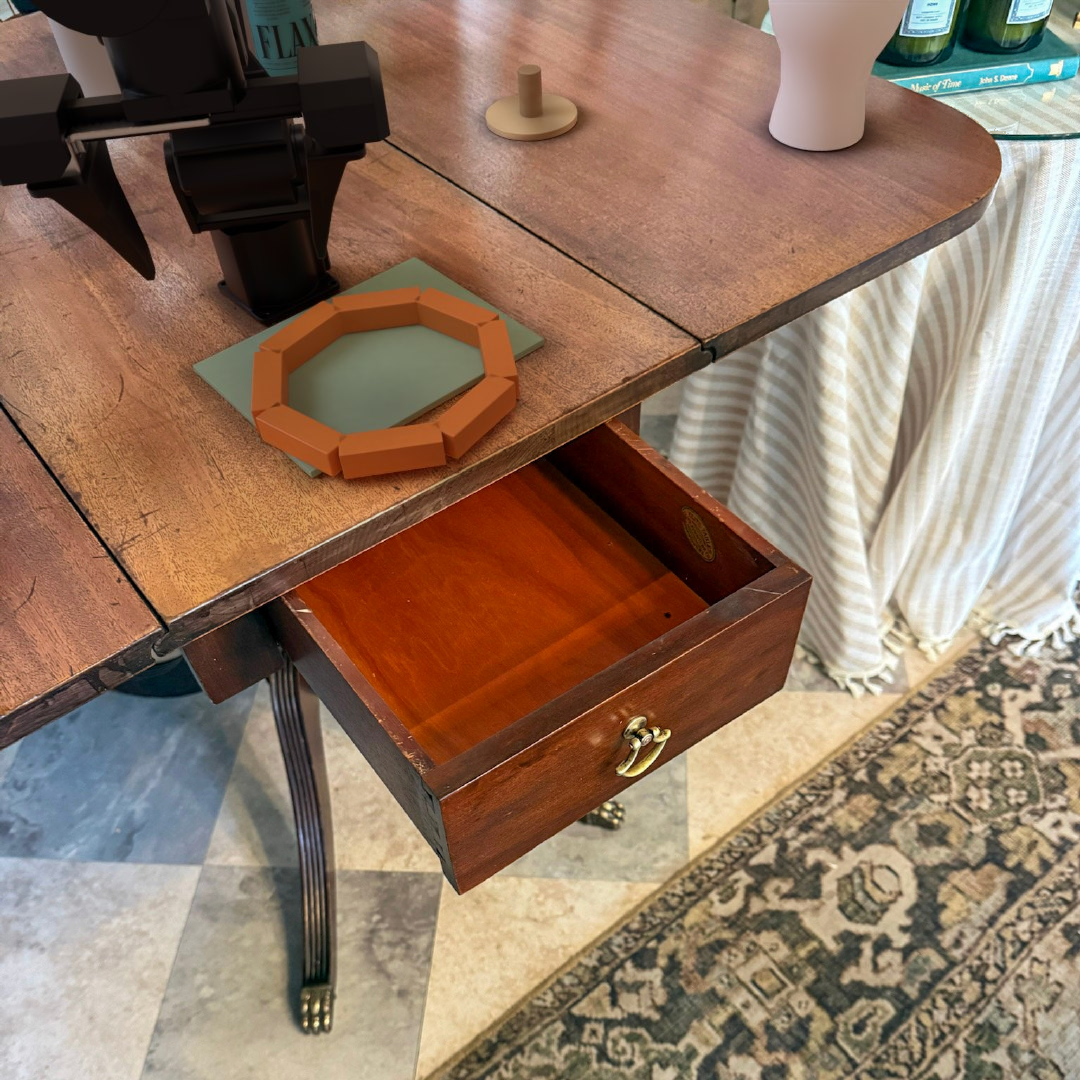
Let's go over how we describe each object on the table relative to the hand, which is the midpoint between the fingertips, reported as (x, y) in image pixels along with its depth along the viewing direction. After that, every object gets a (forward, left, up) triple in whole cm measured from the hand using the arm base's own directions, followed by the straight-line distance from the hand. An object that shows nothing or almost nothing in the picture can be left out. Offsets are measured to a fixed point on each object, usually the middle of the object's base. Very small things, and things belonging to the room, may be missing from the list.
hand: (237, 265), depth 55 cm
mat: (+7, 0, -10) cm, 12 cm away
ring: (+6, -4, -10) cm, 12 cm away
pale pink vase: (+52, -1, -10) cm, 53 cm away
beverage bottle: (+27, +41, -10) cm, 50 cm away
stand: (+37, +18, -10) cm, 42 cm away
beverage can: (+12, +49, -10) cm, 51 cm away
